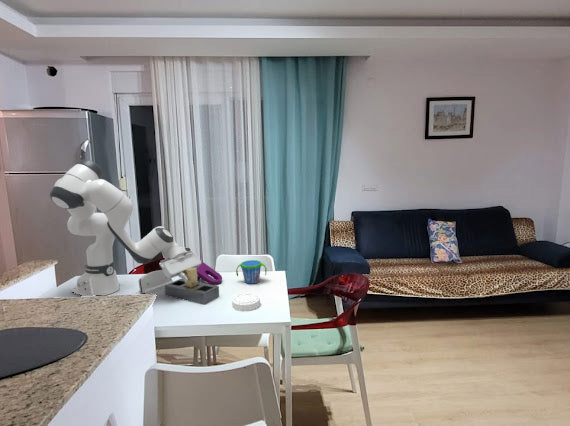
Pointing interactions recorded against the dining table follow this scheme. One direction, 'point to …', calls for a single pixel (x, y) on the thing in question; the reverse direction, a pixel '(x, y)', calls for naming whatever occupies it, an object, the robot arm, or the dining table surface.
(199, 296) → the grey rectangular block
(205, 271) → the mounting bracket
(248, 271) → the snack cup
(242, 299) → the mooncake
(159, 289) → the hinge
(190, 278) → the brass peg
